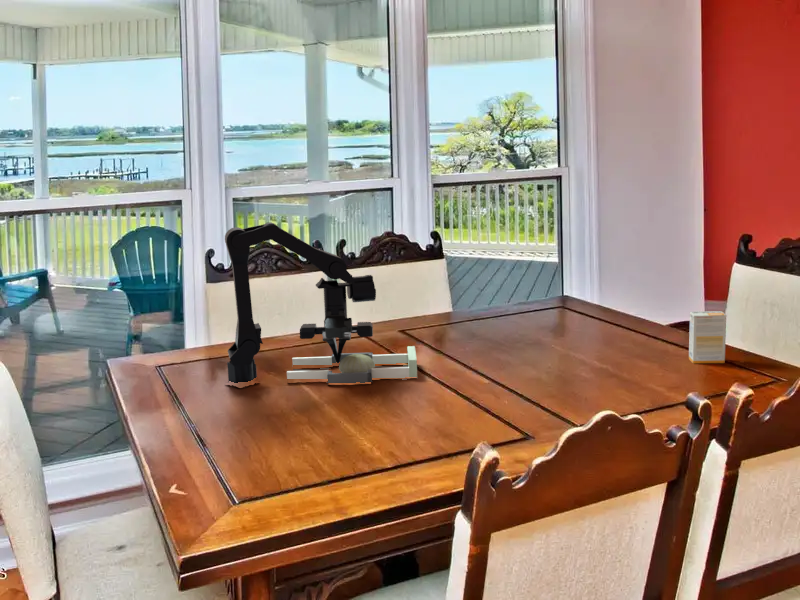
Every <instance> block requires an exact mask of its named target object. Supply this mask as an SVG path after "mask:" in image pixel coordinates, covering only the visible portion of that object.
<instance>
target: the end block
mask: <svg viewBox="0 0 800 600" xmlns="http://www.w3.org/2000/svg"><path fill="white" fill-rule="evenodd" d="M406 348H407V349H406V350H407V354H408V365H407V367H409V377H417V378H418V364H417V363H418V360H417V352H416V346H415V345H412V346H411V345H410V346H409V345H408V346H407V347H406Z"/></svg>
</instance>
